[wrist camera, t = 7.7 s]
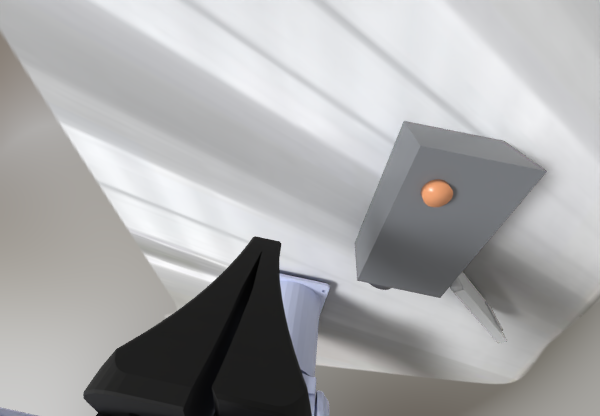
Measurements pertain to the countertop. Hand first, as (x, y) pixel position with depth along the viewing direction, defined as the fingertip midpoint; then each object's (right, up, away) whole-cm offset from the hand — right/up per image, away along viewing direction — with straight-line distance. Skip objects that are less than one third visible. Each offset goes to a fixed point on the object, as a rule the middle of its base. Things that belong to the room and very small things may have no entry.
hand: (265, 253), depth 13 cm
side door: (+18, -5, +12) cm, 22 cm away
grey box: (+11, +3, +8) cm, 14 cm away
